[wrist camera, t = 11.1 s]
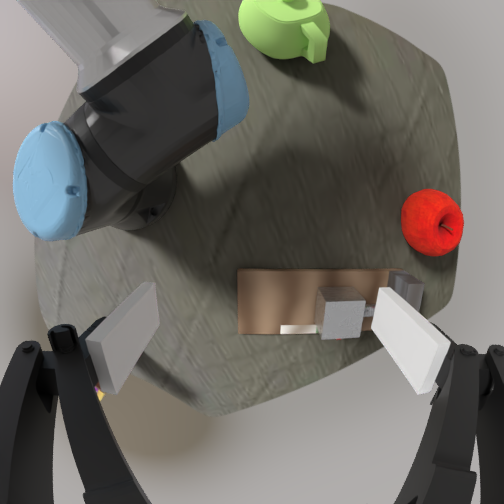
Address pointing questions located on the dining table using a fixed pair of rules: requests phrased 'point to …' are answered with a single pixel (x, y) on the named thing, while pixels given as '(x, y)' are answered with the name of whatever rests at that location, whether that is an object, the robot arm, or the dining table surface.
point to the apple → (431, 222)
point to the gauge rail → (310, 295)
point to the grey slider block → (340, 312)
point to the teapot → (286, 28)
